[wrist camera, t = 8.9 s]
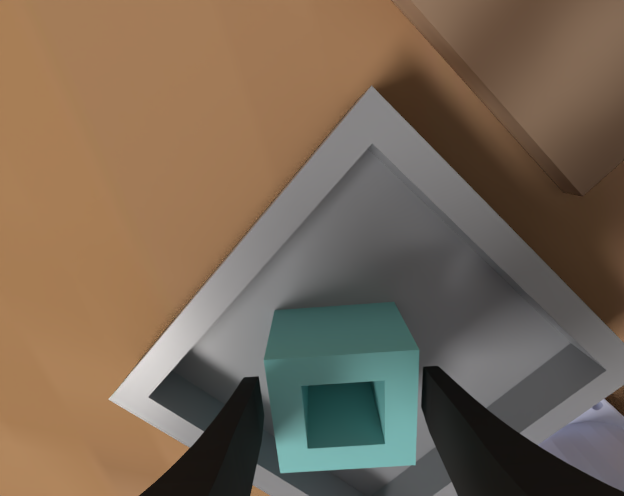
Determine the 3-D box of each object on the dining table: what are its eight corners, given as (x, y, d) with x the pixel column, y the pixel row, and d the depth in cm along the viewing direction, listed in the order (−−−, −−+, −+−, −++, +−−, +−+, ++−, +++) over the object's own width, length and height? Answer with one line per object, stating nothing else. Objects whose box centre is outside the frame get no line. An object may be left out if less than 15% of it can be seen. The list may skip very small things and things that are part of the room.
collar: (393, 301, 14) (419, 349, 11) (393, 398, 16) (415, 465, 13) (274, 310, 14) (263, 360, 11) (286, 404, 16) (280, 473, 13)
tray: (596, 333, 16) (648, 367, 13) (367, 506, 19) (376, 558, 17) (359, 97, 12) (371, 85, 10) (138, 361, 16) (108, 399, 14)
